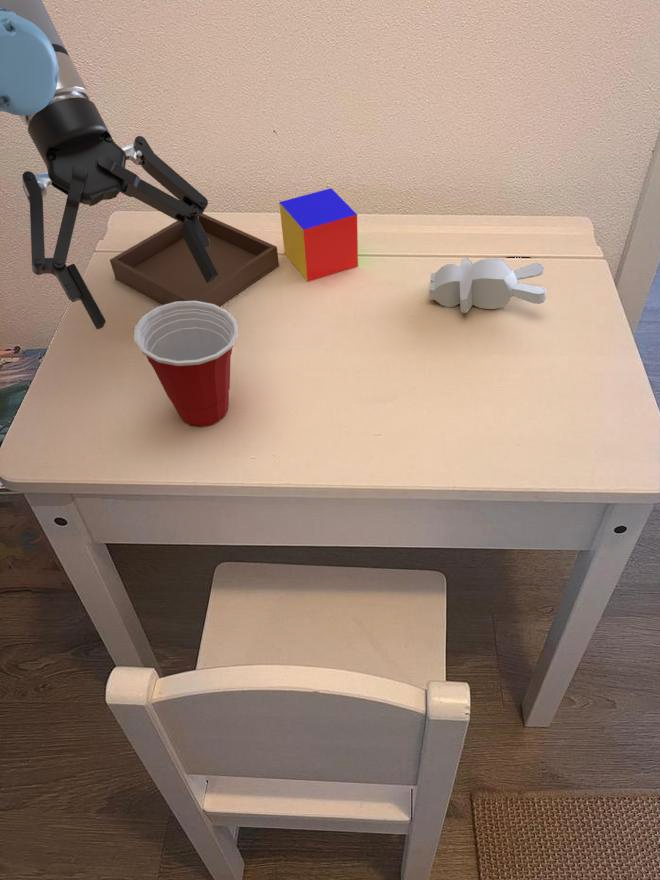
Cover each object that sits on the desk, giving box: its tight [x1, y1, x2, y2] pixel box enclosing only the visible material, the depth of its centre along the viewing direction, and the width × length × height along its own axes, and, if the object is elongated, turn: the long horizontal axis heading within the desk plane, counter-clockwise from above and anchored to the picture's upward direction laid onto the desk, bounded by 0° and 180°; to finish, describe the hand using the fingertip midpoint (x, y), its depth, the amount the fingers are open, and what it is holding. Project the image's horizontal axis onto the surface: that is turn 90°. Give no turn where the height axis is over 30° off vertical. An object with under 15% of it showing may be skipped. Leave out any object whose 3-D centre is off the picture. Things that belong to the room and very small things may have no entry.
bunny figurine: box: [429, 257, 547, 314], centre depth 96 cm, size 10×5×15 cm
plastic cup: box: [133, 301, 239, 428], centre depth 80 cm, size 11×11×12 cm
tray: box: [109, 212, 280, 308], centre depth 101 cm, size 16×16×3 cm
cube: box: [279, 187, 359, 282], centre depth 101 cm, size 8×8×8 cm
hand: (158, 301), depth 79 cm, fingers open, 13 cm apart
